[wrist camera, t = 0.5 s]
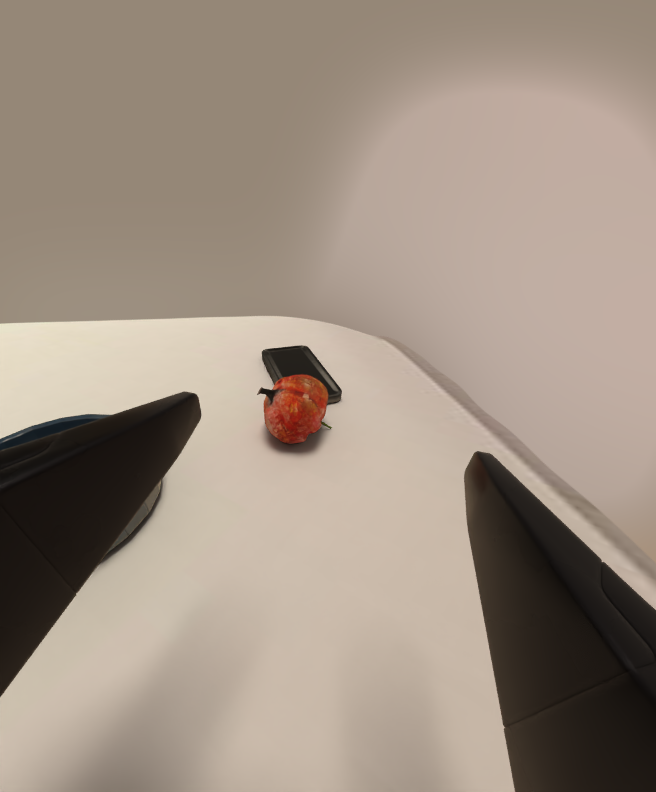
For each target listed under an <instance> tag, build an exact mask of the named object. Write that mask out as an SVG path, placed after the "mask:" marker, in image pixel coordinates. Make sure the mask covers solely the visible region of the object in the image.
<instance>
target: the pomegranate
mask: <svg viewBox="0 0 656 792" xmlns="http://www.w3.org/2000/svg"><path fill="white" fill-rule="evenodd" d="M260 393H261V394H266V395H267V396H266V398H265V401H264V413H265V414H264V416H265V424H266V427H267V428H268V430H269V431H270V433H271V434H272V435H274V436H275V437H276V438H278V439H279V440H280V441H282V442H284V443H291V444H293V443H299V442H304V441H305V440H306V438H307V436H308V434H310V433H315V432H316V431H317V430H319V428H320V427H321V424H323V425H325V426H326V427H328V428H330V429H331V428H332V427H330V426H328V425H327V424H325V423H324V422H322V419H323V417H324V416H325V412H326V406H327V401H328V392H327V389H326V387H325V386H324V385H323V384H322V383H321V382H320V381H319V380H317V379H315V378H313V377H312V376H309V375H302V374H301V375H293V376H290V377H284V378H281V379H279V380H278V381H277V382H276V383H275V385H274V387H273V389H272V390H269V389H263V388H262V387H261V388H260V390H259V392H258V394H260ZM258 394H257V395H258Z"/></svg>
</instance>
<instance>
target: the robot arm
mask: <svg viewBox="0 0 656 792" xmlns="http://www.w3.org/2000/svg"><path fill="white" fill-rule="evenodd" d="M200 419H201V409H200V404H199V399H198V396H197V395H196V394H195V393H190V392H181V393H178V394H175V395H172V396H169V397H166V398H163V399H160V400H157V401H154V402H151V403H147V404H144V405H141V406H138V407H135V408H132V409H129V410H126V411H123V412H120V413H117V414H114V415H111V416H108V417H104V418H101V419H98V420H95V421H92V422H89V423H86V424H83V425H80V426H77V427H74V428H71V429H68V430H65V431H61V432H60V433H55V434H52V435H49V436H46V437H43V438H40V439H37V440H33V441H30V442H27V443H24V444H21V445H17V446H14V447H10V448H7V449H4V450H0V697H1V695H2V694H3V693H4V691H5V690H6V689H7V687H8V686H9V685H10V683H11V682H12V681H13V679H14V678H15V677H16V675H17V674H18V673H19V671H20V670H21V669H22V667H23V666H24V664H25V663H26V662H27V660H28V659H29V658H30V656H31V655H32V654H33V652H34V651H35V650H36V648H37V647H38V646H39V644H40V643H41V642H42V640H43V639H44V637H45V636H46V635H47V633H48V632H49V631H50V629H51V628H52V627H53V625H54V624H55V623H56V621H57V620H58V619H59V617H60V616H61V615H62V613H63V612H64V611H65V609H66V608H67V607H68V605H69V604H70V602H71V601H72V600H73V598H74V597H75V596H76V593H77V592H78V591H79V590H80V589H81V587H82V586H83V585H84V583H85V582H86V581H87V579H88V578H89V577H90V575H91V574H92V572H93V571H94V570H95V568H96V567H97V566H98V564H99V563H100V562H101V560H102V559H103V558H104V556H105V555H106V554H107V552H108V551H109V550H110V548H111V547H112V546H113V544H114V543H115V541H116V540H117V539H118V537H119V536H120V535H121V533H122V532H123V531H124V529H125V528H126V527H127V525H128V524H129V523H130V521H131V520H132V519H133V517H134V516H135V515H136V513H137V512H138V511H139V509H140V508H141V506H142V505H143V504H144V502H145V501H146V500H147V498H148V497H149V496H150V494H151V493H152V492H153V490H154V489H155V488H156V486H157V485H158V484H159V482H160V481H161V480H162V478H163V477H164V475H165V474H166V473H167V471H168V470H169V469H170V467H171V466H172V465H173V463H174V462H175V461H176V459H177V458H178V456H179V455H180V453H181V451H182V450H183V448H184V446H185V445H186V443H187V441H188V440H189V438H190V436H191V435H192V433H193V431H194V429H195V428H196V426H197V424H198V423H199V421H200ZM464 483H465V500H466V516H467V526H468V533H469V538H470V544H471V549H472V555H473V560H474V566H475V572H476V577H477V583H478V588H479V594H480V599H481V605H482V610H483V616H484V621H485V627H486V632H487V638H488V643H489V649H490V654H491V660H492V665H493V671H494V676H495V682H496V687H497V693H498V698H499V704H500V709H501V715H502V720H503V725H504V727H505V728H504V733H505V738H506V744H507V749H508V755H509V760H510V766H511V771H512V777H513V782H514V788H515V792H656V610H655V609H654V608H653V607H652V606H651V605H649V604H648V603H647V602H646V601H645V600H644V599H643V598H642V597H641V596H640V595H639V594H638V593H636V592H635V591H634V590H633V589H632V588H631V587H630V586H629V585H628V584H627V583H626V582H625V581H624V580H622V579H621V578H620V577H619V576H618V575H617V574H616V573H615V572H614V571H613V570H612V569H611V568H610V567H609V566H608V565H607V564H606V563H604V562H602V560H601V559H600V558H599V557H598V556H597V555H596V554H595V553H594V552H593V551H592V550H591V549H590V548H589V547H588V546H587V545H586V544H585V543H584V542H583V541H582V540H581V539H580V538H578V537H577V536H576V535H575V534H574V533H573V532H572V531H571V530H570V529H569V528H568V527H567V526H566V525H565V524H564V523H563V522H562V521H561V520H560V519H559V518H558V517H557V516H555V515H554V514H553V513H552V512H551V511H550V510H549V509H548V508H547V507H546V506H545V505H544V504H543V503H542V502H541V501H540V500H539V499H538V498H537V497H536V496H535V495H534V494H532V493H531V492H530V491H529V490H528V489H527V488H526V487H525V486H524V485H523V484H522V483H521V482H520V481H519V480H518V479H517V478H516V477H515V476H514V475H513V474H512V473H511V472H510V471H508V470H507V469H506V468H505V467H504V466H503V465H502V464H501V463H500V462H499V461H498V460H497V459H496V458H495V457H494V456H493V455H491V454H489V453H484V452H479V451H477V452H475V453H474V454H473V456H472V458H471V460H470V462H469V464H468V466H467V468H466V470H465V474H464Z"/></svg>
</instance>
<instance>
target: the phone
mask: <svg viewBox="0 0 656 792" xmlns="http://www.w3.org/2000/svg"><path fill="white" fill-rule="evenodd" d="M262 359H263V361H264V363H265V365H266V368H267V370H268V372H269V374H270V376H271V378H272V380H273V382H274V384H275V383H276V382H277V381H278V380H279V379H281V378H284V377H290V376H293V375H301V374H302V375H309V376H312V377H313V378H315V379H317V380H319V381H320V382H321V383H322V384H323V385H324V386H325V387H326V389H327V392H328V401H327V404H329V403H334V402H338V401H340V399H341V394H342V390H341V389H340V387H339V386H338V385H337V383H336V382H335V381H334V380H333V378H332V377H331V376H330V375H329V373H328V372H327V371H326V369H325V368H324V367H323V366H322V364H321V363H320V362H319V360H318V359H317V358H316V357H315V355H314V354H313V353H312V351H311V350H310V349H309V348H308V347H307V346H302V345H301V346H291V347H282V348H272V349H265V350H263V351H262Z"/></svg>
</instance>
